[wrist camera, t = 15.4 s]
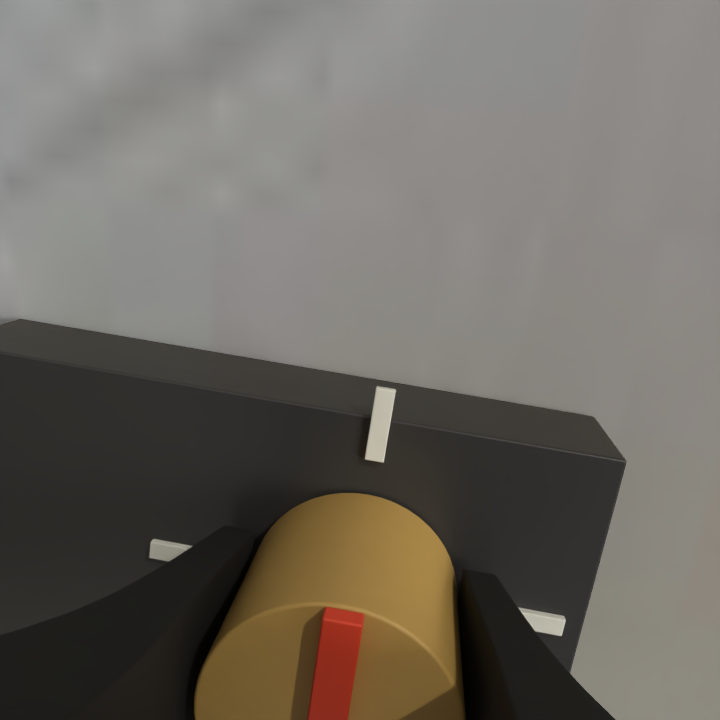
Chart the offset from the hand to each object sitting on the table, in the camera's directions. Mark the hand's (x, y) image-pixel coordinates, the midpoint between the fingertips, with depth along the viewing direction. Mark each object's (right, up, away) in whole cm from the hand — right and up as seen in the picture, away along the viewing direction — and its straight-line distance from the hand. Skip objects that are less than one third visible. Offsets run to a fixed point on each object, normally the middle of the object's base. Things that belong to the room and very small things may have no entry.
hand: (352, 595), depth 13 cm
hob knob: (0, 0, 0) cm, 0 cm away
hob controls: (-2, +1, +3) cm, 4 cm away
